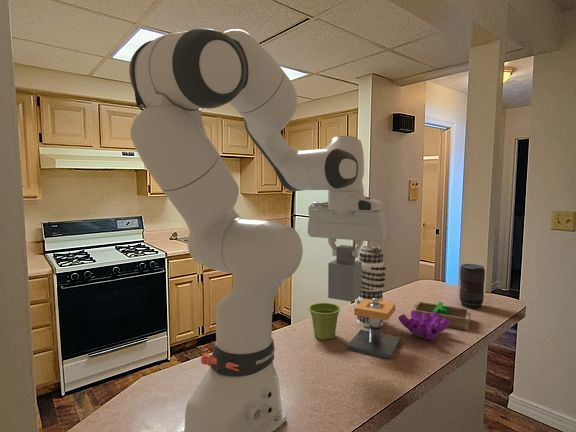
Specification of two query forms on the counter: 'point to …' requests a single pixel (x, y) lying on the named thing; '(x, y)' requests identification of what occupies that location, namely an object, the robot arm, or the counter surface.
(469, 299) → the camera lens
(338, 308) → the plant pot
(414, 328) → the purple tube coral
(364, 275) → the decorative candle
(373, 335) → the pipe stand
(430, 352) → the counter surface
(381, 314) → the collar
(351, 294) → the grey stepped block
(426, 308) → the open wooden box
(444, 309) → the green branched piece
